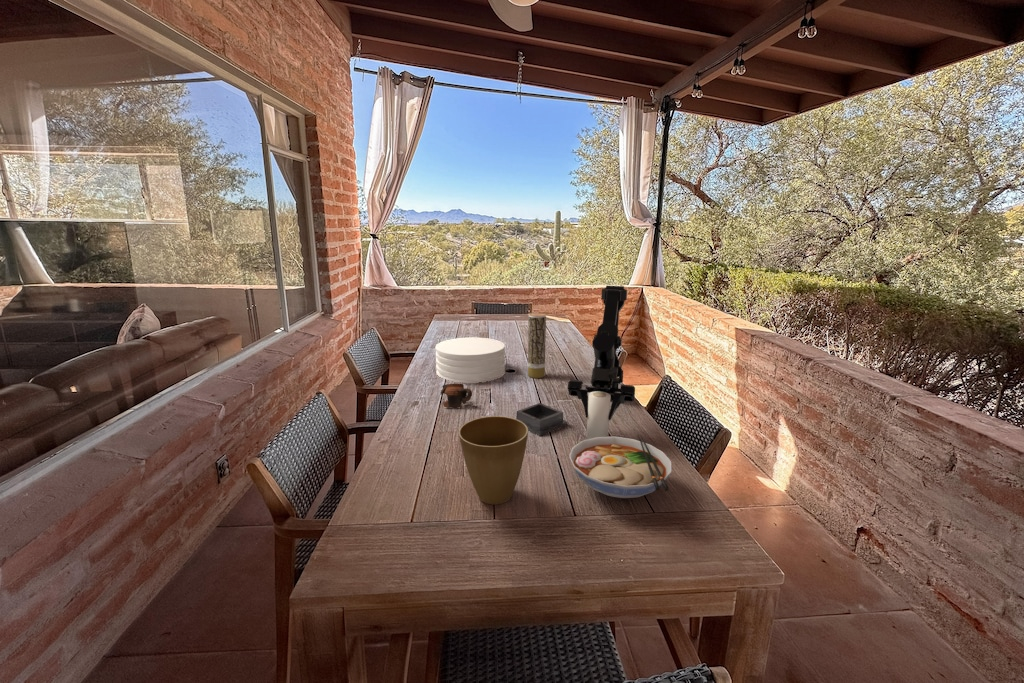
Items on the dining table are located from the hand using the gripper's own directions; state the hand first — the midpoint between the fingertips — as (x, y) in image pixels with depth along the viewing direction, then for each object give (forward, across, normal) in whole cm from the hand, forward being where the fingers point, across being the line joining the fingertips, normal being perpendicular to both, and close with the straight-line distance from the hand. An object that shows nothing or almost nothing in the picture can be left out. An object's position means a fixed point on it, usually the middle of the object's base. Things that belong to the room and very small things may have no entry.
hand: (597, 418), depth 127 cm
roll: (+4, 0, +6) cm, 7 cm away
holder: (0, -18, +9) cm, 20 cm away
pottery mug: (-5, -48, +15) cm, 51 cm away
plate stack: (-29, -56, +39) cm, 74 cm away
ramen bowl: (+21, +7, -11) cm, 25 cm away
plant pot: (+29, -19, -19) cm, 40 cm away
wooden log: (-31, -29, +40) cm, 59 cm away
